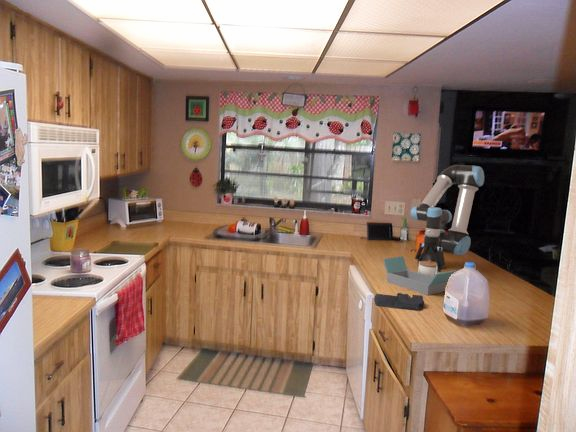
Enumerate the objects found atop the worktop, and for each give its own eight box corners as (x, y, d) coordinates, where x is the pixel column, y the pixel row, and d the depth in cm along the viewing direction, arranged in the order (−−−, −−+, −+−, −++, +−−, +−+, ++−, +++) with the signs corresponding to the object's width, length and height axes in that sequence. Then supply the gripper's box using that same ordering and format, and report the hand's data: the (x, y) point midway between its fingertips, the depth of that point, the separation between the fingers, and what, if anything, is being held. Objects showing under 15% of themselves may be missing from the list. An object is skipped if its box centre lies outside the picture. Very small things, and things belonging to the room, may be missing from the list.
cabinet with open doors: (381, 279, 252) (382, 258, 250) (400, 276, 261) (402, 256, 260) (434, 297, 225) (436, 273, 223) (453, 292, 234) (456, 270, 233)
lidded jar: (414, 274, 261) (415, 258, 260) (430, 273, 265) (431, 257, 264) (426, 279, 252) (427, 262, 250) (442, 278, 255) (444, 262, 254)
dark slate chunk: (373, 297, 222) (374, 287, 221) (421, 302, 218) (422, 292, 217) (373, 307, 207) (374, 297, 206) (425, 313, 203) (426, 302, 202)
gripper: (410, 232, 262) (407, 270, 265) (446, 240, 244) (442, 281, 247) (419, 231, 267) (415, 269, 270) (454, 239, 248) (450, 279, 251)
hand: (428, 274), depth 258 cm, fingers closed on lidded jar, 11 cm apart
